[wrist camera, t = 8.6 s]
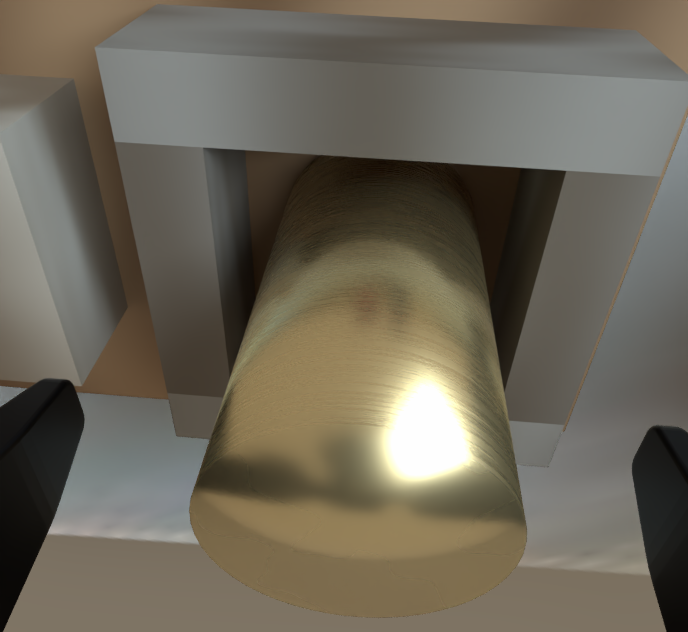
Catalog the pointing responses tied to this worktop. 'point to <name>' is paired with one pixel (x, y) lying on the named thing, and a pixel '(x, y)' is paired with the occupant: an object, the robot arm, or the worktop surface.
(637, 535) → the worktop surface
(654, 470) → the robot arm
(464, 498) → the cylinder
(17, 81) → the jig
